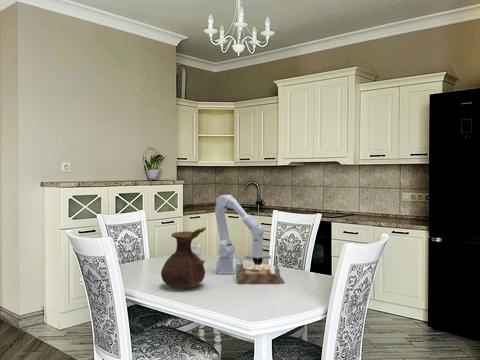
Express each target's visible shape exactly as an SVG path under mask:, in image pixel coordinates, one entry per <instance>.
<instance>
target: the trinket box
mask: <svg viewBox="0 0 480 360" xmlns="http://www.w3.org/2000/svg"><path fill="white" fill-rule="evenodd" d="M243 274H272V271H271V269H270V268H269V267H267V266H266V265H262V264H261V265H255V264H250V265H249V264H248V265H246V266H243Z"/></svg>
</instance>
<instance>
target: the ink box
mask: <svg viewBox="0 0 480 360" xmlns="http://www.w3.org/2000/svg"><path fill="white" fill-rule="evenodd" d="M191 250H192V252H193V253H195V254H196V255H197V256H198V257H199V258H200V260H202V245H201V244H199V241H198V240H192V241H191Z"/></svg>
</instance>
